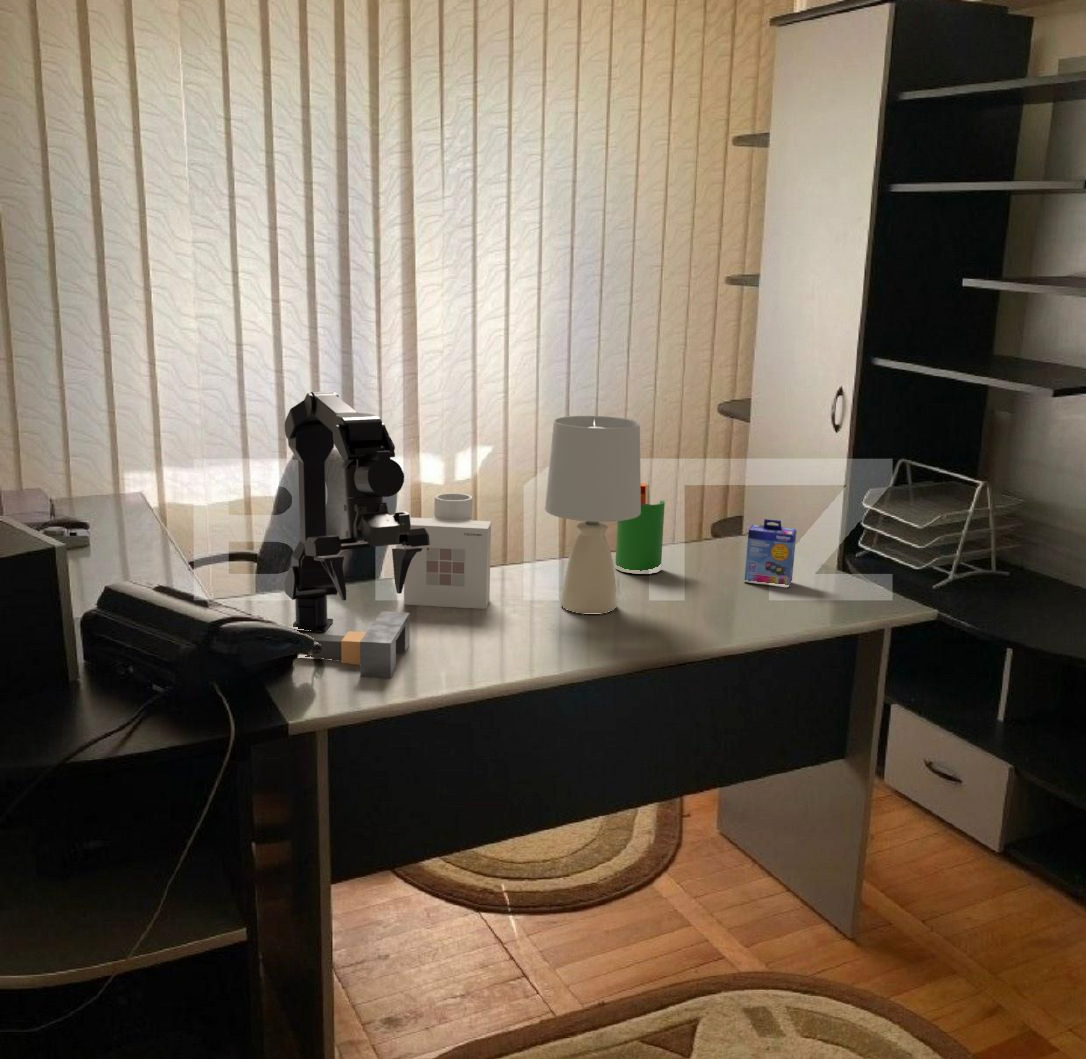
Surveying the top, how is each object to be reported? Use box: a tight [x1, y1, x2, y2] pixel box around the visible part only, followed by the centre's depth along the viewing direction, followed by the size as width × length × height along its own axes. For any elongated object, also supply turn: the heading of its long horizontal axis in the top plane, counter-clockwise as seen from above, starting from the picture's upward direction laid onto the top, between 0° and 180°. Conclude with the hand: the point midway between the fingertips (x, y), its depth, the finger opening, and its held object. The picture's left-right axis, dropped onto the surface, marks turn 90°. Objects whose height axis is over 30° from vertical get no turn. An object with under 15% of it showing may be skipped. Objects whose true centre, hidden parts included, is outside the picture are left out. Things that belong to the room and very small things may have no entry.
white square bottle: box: [403, 492, 492, 610], centre depth 227 cm, size 16×19×20 cm
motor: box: [615, 483, 666, 571], centre depth 248 cm, size 10×9×20 cm
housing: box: [359, 610, 411, 679], centre depth 190 cm, size 16×5×6 cm, turn 176°
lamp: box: [544, 415, 642, 613], centre depth 219 cm, size 19×19×37 cm
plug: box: [303, 630, 367, 665], centre depth 191 cm, size 5×12×4 cm, turn 86°
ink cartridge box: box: [743, 518, 797, 586], centre depth 242 cm, size 10×6×14 cm, turn 72°
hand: (371, 596), depth 176 cm, fingers open, 9 cm apart
